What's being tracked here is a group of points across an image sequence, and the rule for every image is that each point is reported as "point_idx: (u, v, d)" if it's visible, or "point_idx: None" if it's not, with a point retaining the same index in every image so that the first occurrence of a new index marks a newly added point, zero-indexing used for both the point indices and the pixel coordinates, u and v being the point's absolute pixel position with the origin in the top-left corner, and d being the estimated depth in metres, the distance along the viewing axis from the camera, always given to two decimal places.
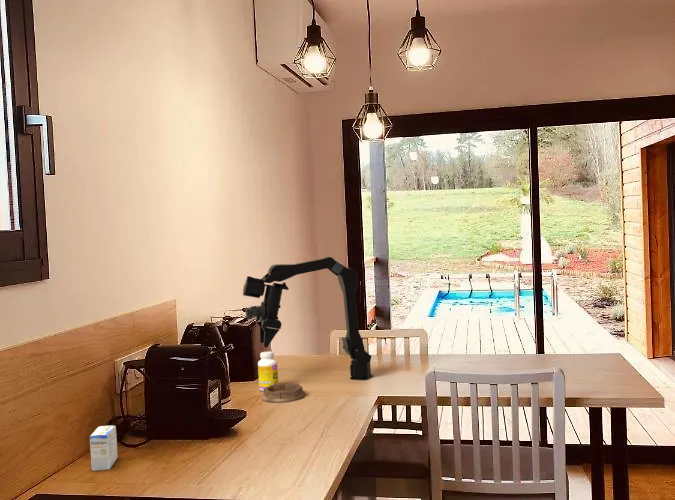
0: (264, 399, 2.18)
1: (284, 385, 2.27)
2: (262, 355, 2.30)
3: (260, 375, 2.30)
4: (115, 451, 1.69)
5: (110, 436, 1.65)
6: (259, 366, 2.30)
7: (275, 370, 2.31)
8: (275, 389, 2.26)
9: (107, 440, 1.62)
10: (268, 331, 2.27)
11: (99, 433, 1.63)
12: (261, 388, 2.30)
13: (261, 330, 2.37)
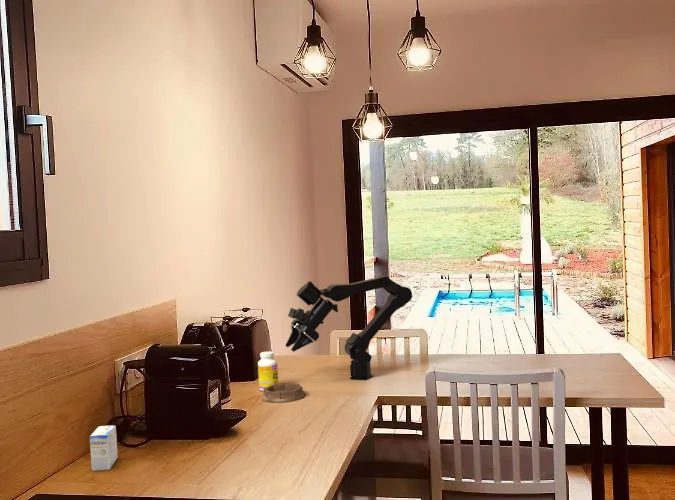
0: (264, 399, 2.18)
1: (284, 385, 2.27)
2: (262, 355, 2.30)
3: (260, 375, 2.30)
4: (115, 451, 1.68)
5: (110, 436, 1.65)
6: (259, 366, 2.30)
7: (275, 370, 2.31)
8: (275, 389, 2.26)
9: (107, 440, 1.62)
10: (302, 338, 2.30)
11: (99, 433, 1.63)
12: (261, 388, 2.30)
13: (292, 335, 2.39)
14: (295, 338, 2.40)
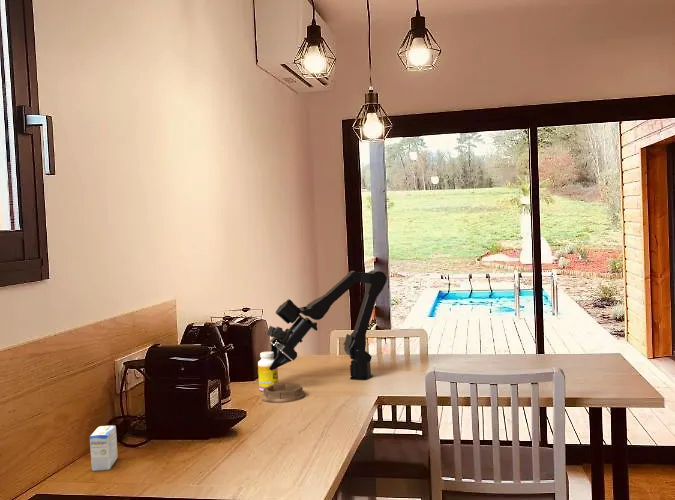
0: (264, 399, 2.18)
1: (284, 385, 2.27)
2: (262, 355, 2.30)
3: (260, 375, 2.30)
4: (115, 451, 1.69)
5: (110, 436, 1.65)
6: (259, 366, 2.30)
7: (275, 370, 2.31)
8: (275, 389, 2.26)
9: (107, 440, 1.62)
10: (281, 357, 2.28)
11: (99, 433, 1.63)
12: (261, 388, 2.30)
13: None
14: (274, 356, 2.38)
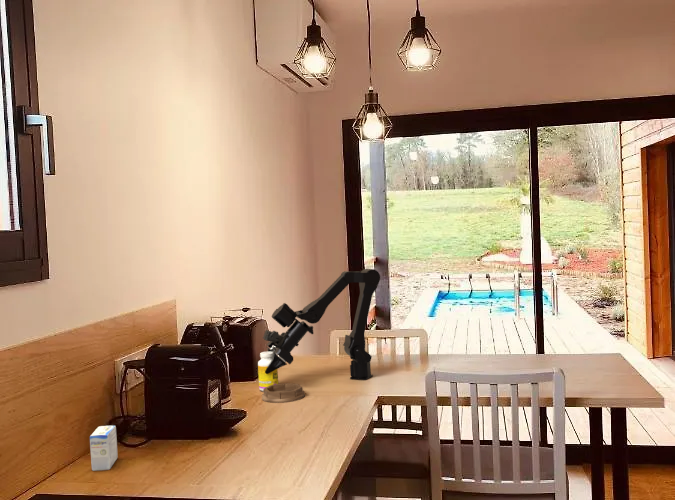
0: (264, 399, 2.18)
1: (284, 385, 2.27)
2: (262, 355, 2.30)
3: (260, 375, 2.30)
4: (115, 451, 1.69)
5: (110, 436, 1.65)
6: (259, 366, 2.30)
7: (275, 370, 2.31)
8: (275, 389, 2.26)
9: (107, 440, 1.62)
10: (276, 360, 2.28)
11: (99, 433, 1.63)
12: (261, 388, 2.30)
13: None
14: None
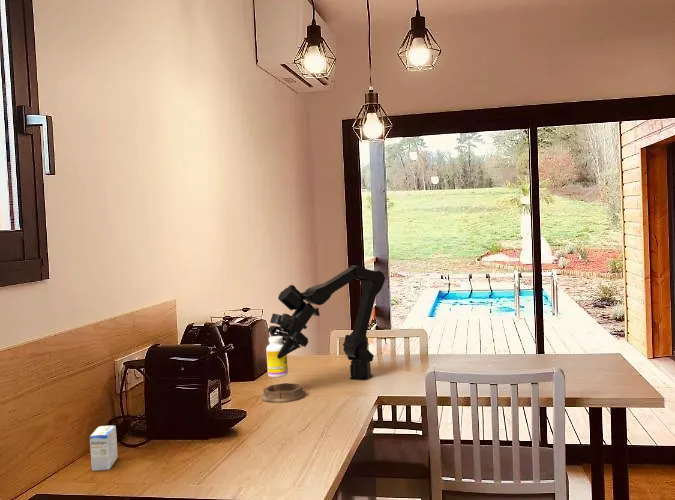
0: (264, 399, 2.18)
1: (284, 385, 2.27)
2: (272, 340, 2.21)
3: (271, 361, 2.21)
4: (115, 451, 1.69)
5: (110, 436, 1.65)
6: (269, 351, 2.21)
7: (286, 355, 2.22)
8: (275, 389, 2.26)
9: (107, 440, 1.62)
10: (289, 344, 2.21)
11: (99, 433, 1.63)
12: (272, 374, 2.21)
13: None
14: None
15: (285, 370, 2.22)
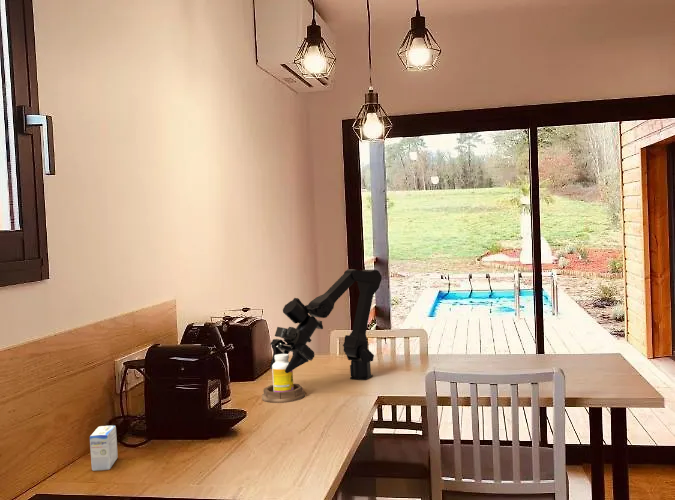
0: (264, 399, 2.18)
1: None
2: (279, 357, 2.19)
3: (277, 379, 2.18)
4: (115, 451, 1.69)
5: (110, 436, 1.65)
6: (276, 369, 2.19)
7: (292, 372, 2.21)
8: None
9: (107, 440, 1.62)
10: (296, 358, 2.18)
11: (99, 433, 1.63)
12: None
13: None
14: None
15: (291, 388, 2.20)
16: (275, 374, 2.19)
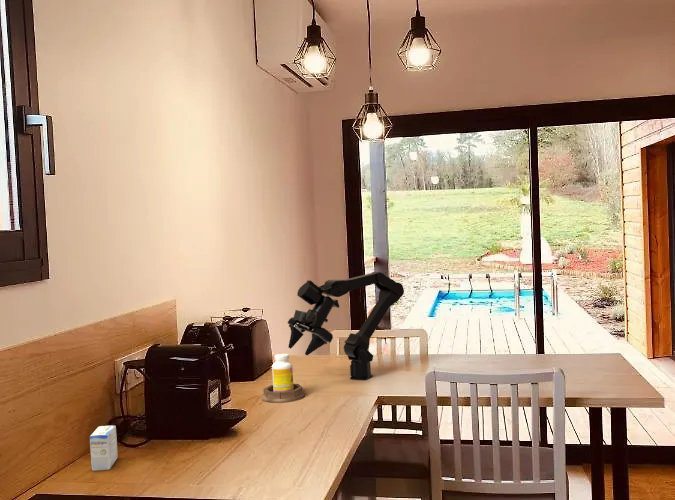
0: (264, 399, 2.18)
1: None
2: (279, 357, 2.19)
3: (277, 379, 2.18)
4: (115, 451, 1.69)
5: (110, 436, 1.65)
6: (276, 369, 2.18)
7: (292, 372, 2.21)
8: None
9: (107, 440, 1.62)
10: (316, 340, 2.26)
11: (99, 433, 1.63)
12: None
13: (293, 336, 2.33)
14: (296, 338, 2.34)
15: (291, 388, 2.20)
16: (275, 374, 2.19)
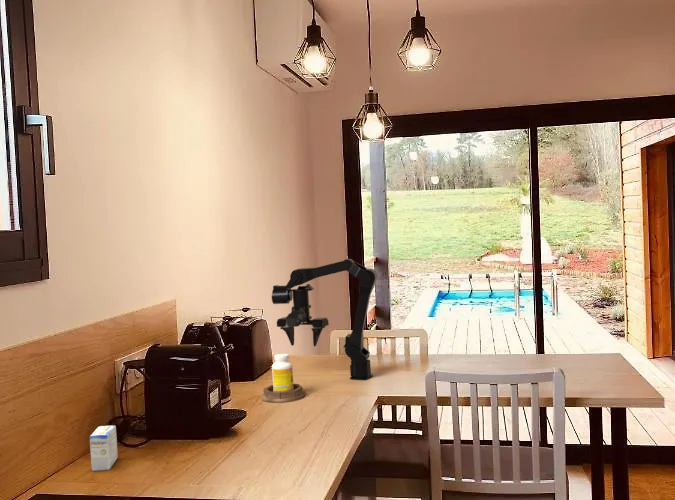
0: (264, 399, 2.18)
1: None
2: (279, 358, 2.19)
3: (277, 379, 2.18)
4: (115, 451, 1.69)
5: (110, 436, 1.65)
6: (276, 369, 2.18)
7: (292, 372, 2.21)
8: None
9: (107, 440, 1.62)
10: (316, 331, 2.43)
11: (99, 433, 1.63)
12: None
13: (290, 334, 2.47)
14: (292, 333, 2.48)
15: (291, 388, 2.20)
16: (275, 374, 2.19)
